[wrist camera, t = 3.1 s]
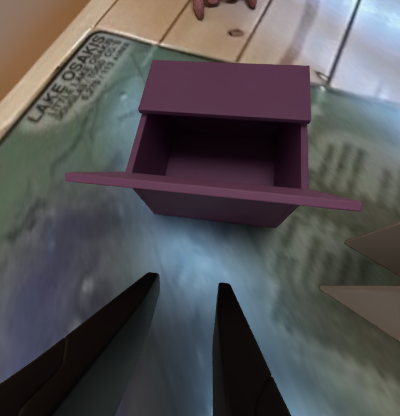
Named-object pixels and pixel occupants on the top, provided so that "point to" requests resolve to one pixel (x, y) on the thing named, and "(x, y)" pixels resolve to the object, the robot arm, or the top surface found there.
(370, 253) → the brochure
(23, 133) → the top surface
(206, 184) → the flap
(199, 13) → the video game controller
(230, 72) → the file box
